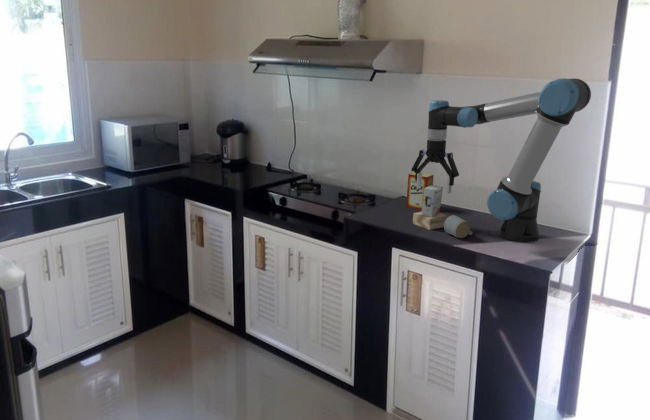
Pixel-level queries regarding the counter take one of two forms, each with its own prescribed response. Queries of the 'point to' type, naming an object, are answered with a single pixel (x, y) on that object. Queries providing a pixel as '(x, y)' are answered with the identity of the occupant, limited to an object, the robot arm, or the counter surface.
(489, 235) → the counter surface
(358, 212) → the counter surface
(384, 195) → the counter surface
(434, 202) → the ink box
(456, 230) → the ceramic mug
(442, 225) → the maple block
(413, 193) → the baking soda box
